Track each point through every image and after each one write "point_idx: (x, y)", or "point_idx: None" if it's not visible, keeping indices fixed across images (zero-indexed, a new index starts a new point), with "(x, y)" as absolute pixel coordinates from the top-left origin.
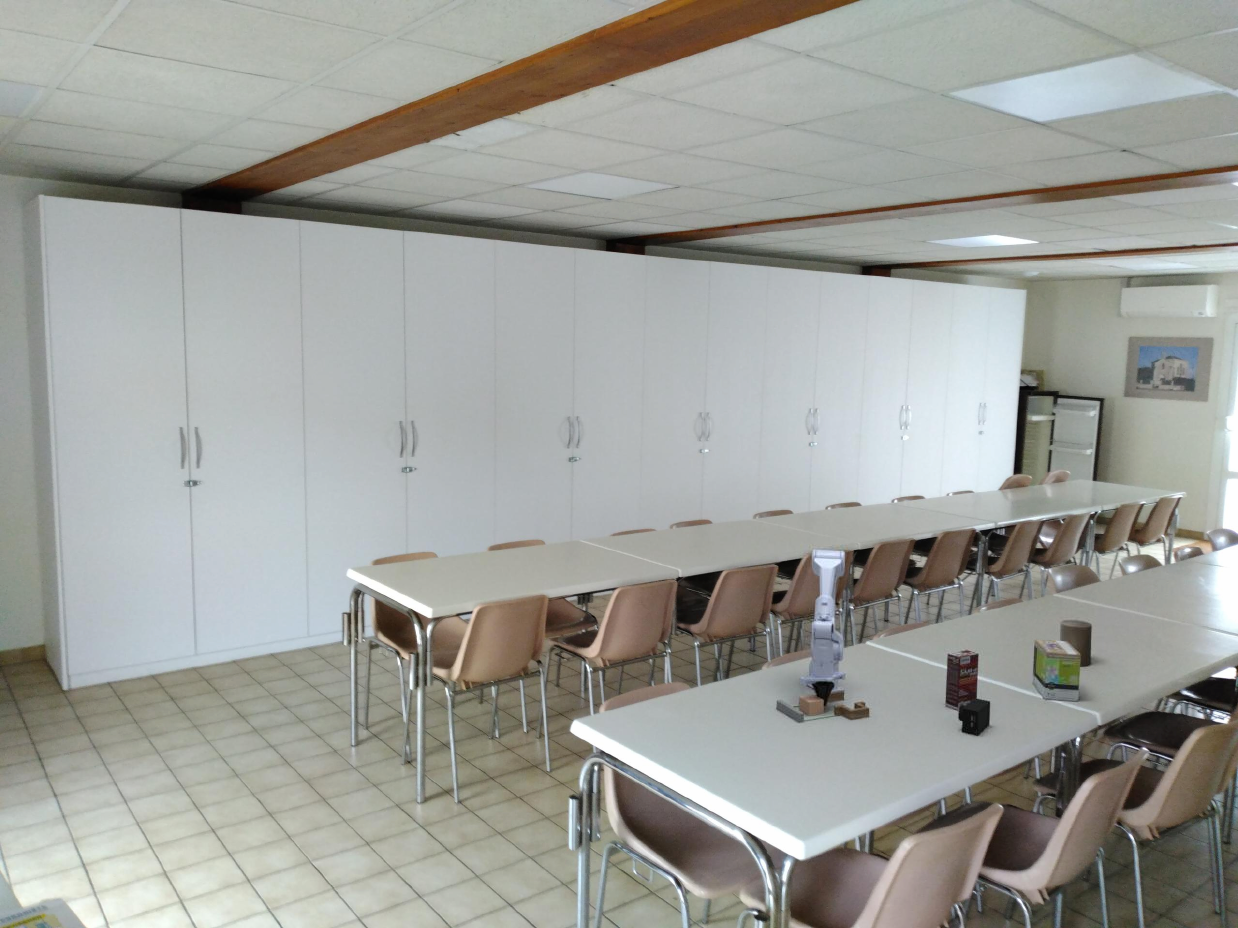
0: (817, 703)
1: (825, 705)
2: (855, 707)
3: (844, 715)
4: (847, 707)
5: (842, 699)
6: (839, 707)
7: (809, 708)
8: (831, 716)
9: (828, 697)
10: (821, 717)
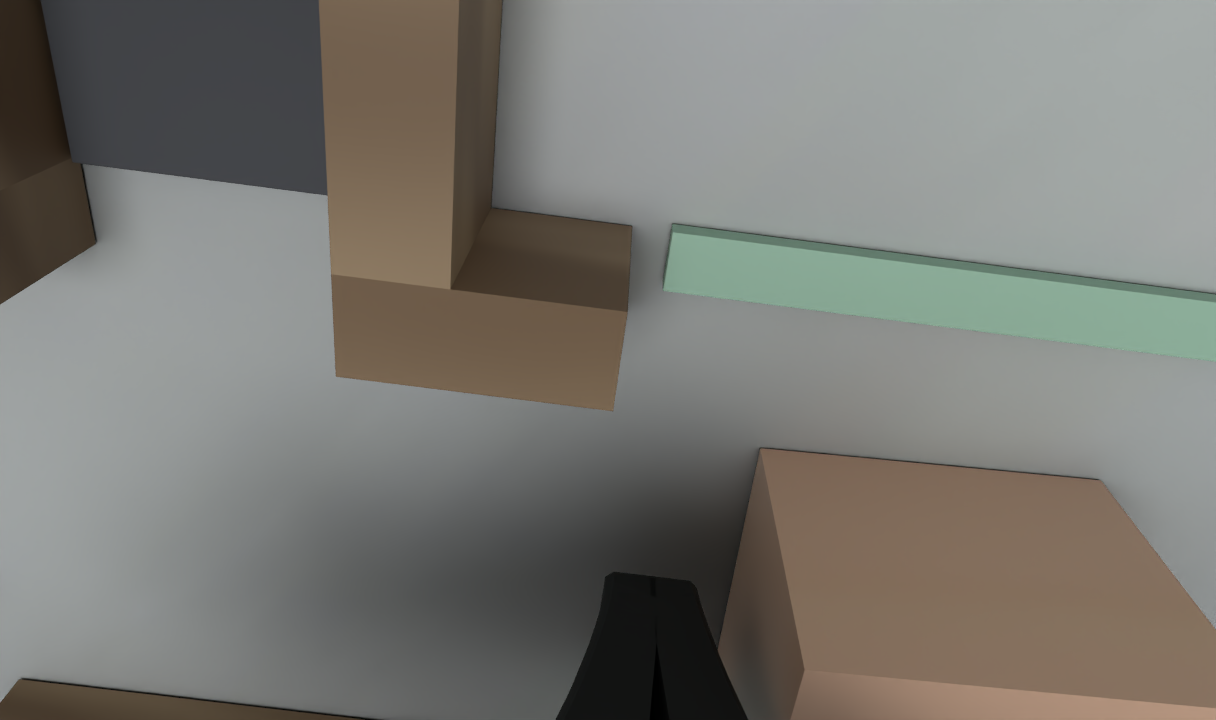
0: (984, 632)
1: (630, 586)
2: (25, 235)
3: (493, 110)
4: (347, 151)
5: (44, 689)
6: (535, 292)
7: (1175, 588)
8: (772, 240)
9: (570, 710)
10: (1044, 281)
